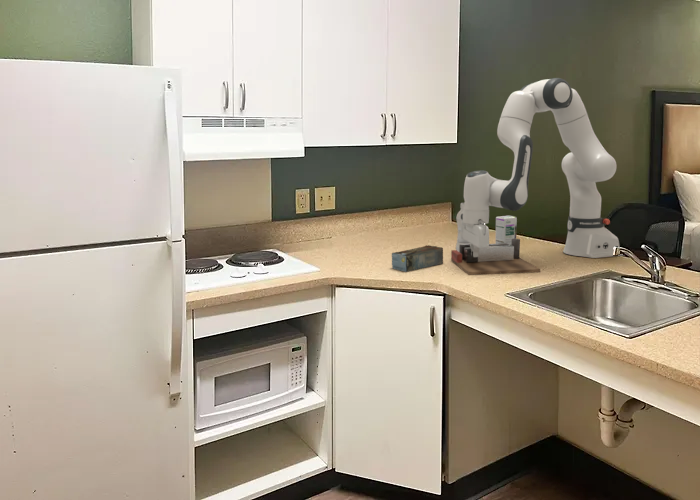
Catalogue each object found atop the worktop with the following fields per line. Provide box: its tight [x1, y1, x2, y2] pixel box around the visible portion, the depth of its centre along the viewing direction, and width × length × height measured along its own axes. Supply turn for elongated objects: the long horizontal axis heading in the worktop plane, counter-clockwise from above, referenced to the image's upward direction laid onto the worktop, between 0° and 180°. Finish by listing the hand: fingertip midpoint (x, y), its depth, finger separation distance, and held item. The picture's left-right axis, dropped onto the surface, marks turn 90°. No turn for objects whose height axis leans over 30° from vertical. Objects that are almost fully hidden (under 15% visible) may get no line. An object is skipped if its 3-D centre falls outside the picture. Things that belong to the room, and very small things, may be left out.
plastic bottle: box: [455, 202, 470, 252], centre depth 241 cm, size 6×7×20 cm
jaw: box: [464, 245, 514, 263], centre depth 226 cm, size 18×3×5 cm, turn 100°
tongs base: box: [450, 238, 541, 276], centre depth 222 cm, size 25×22×8 cm
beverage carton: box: [391, 245, 444, 273], centre depth 224 cm, size 8×19×7 cm, turn 129°
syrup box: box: [494, 215, 518, 245], centre depth 242 cm, size 6×6×14 cm
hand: (474, 256), depth 221 cm, fingers closed
